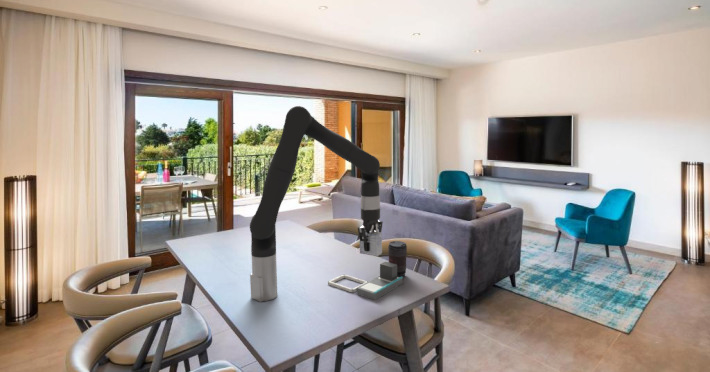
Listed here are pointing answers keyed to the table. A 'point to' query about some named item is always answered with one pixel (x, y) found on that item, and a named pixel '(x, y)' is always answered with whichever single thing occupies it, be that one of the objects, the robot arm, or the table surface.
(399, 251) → the camera lens
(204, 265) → the table surface
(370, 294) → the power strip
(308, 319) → the table surface
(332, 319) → the table surface
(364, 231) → the robot arm
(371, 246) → the medicine box
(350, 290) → the tray frame
